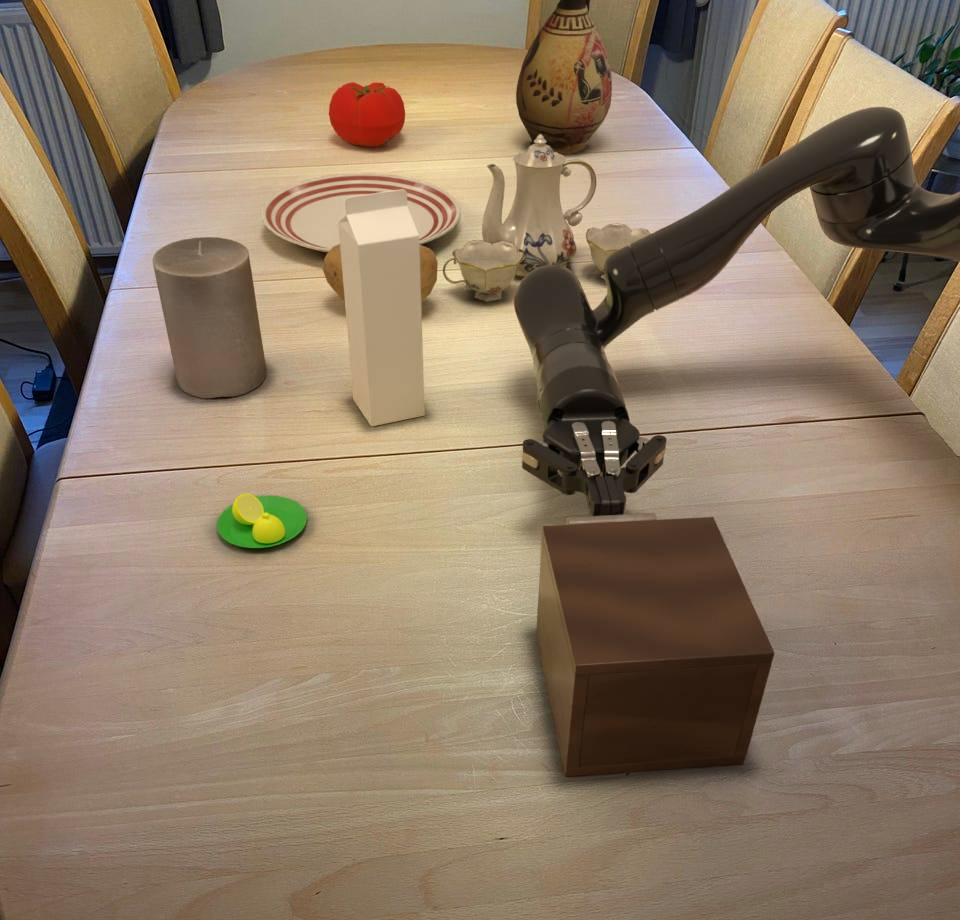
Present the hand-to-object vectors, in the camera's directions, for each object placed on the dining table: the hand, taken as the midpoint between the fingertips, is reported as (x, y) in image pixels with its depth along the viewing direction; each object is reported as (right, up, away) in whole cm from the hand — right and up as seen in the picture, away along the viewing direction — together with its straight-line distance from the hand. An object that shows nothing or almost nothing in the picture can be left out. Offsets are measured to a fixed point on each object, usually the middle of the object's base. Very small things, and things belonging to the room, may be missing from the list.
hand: (610, 514), depth 82 cm
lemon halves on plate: (-30, 0, +11) cm, 32 cm away
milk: (-20, +14, +27) cm, 36 cm away
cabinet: (+1, -14, -4) cm, 15 cm away
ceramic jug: (+4, +73, +91) cm, 116 cm away
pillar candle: (-39, +19, +31) cm, 53 cm away
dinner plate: (-27, +47, +62) cm, 83 cm away
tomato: (-29, +74, +91) cm, 121 cm away
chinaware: (-2, +37, +52) cm, 64 cm away
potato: (-22, +30, +44) cm, 58 cm away
